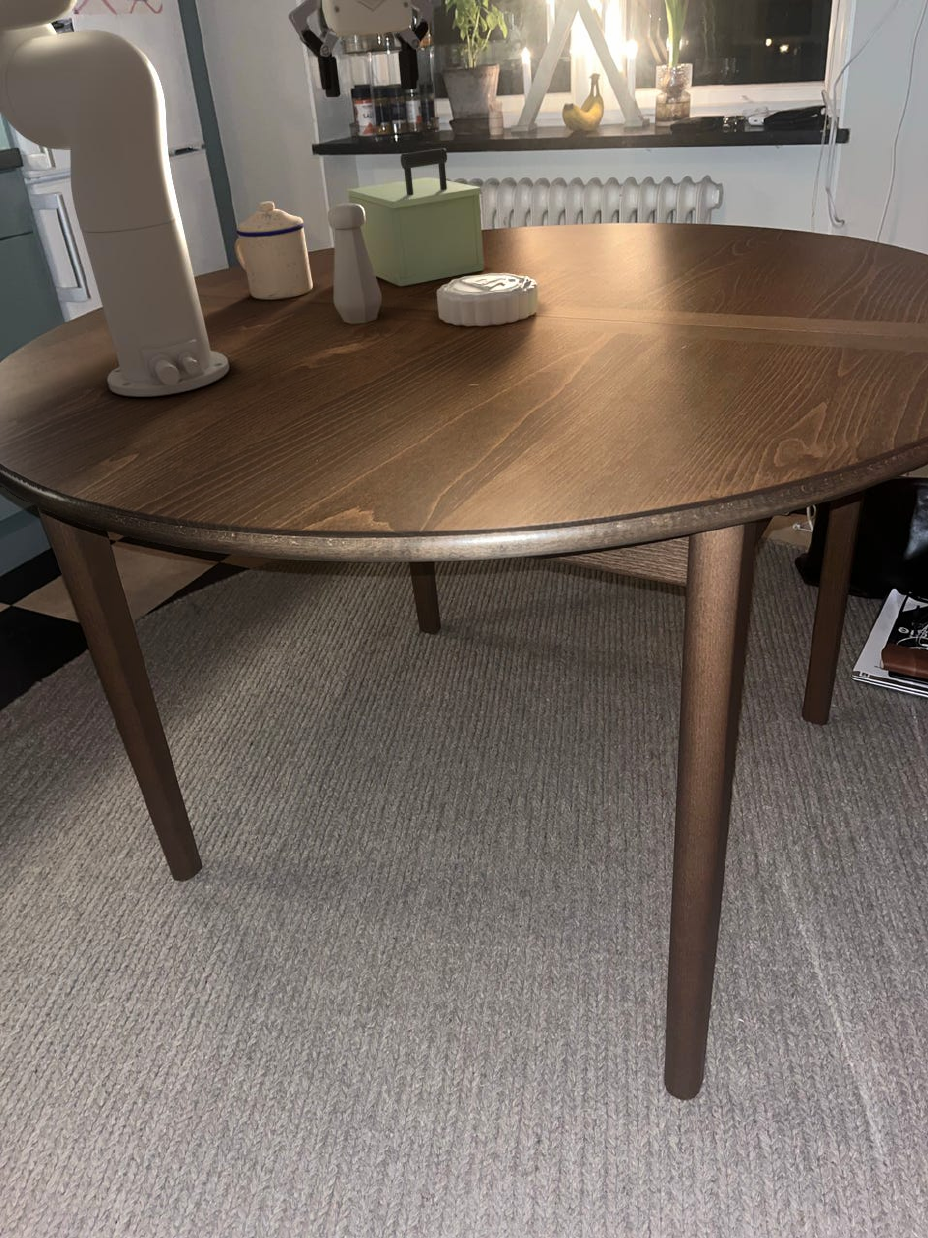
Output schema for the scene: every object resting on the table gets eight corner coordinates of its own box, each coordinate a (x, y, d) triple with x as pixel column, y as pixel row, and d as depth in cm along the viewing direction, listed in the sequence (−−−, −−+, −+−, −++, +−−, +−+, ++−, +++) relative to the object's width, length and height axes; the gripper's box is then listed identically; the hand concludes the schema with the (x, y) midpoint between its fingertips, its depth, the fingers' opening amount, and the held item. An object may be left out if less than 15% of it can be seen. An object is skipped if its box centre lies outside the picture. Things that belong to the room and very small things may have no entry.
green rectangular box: (484, 269, 132) (479, 193, 127) (400, 286, 128) (391, 207, 123) (436, 253, 145) (429, 182, 140) (358, 268, 140) (348, 195, 135)
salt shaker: (329, 325, 114) (311, 210, 107) (347, 312, 118) (331, 201, 111) (374, 325, 112) (358, 208, 105) (390, 312, 117) (377, 199, 110)
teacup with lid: (328, 286, 132) (314, 196, 125) (283, 302, 126) (266, 209, 119) (267, 281, 138) (251, 195, 132) (221, 296, 132) (202, 207, 126)
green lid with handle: (482, 193, 127) (479, 145, 123) (393, 208, 122) (388, 159, 119) (429, 182, 140) (426, 138, 136) (348, 195, 135) (342, 150, 132)
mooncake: (557, 312, 110) (557, 280, 108) (469, 333, 106) (467, 300, 104) (504, 294, 119) (502, 265, 118) (421, 313, 115) (417, 283, 113)
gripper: (286, -92, 95) (312, 100, 104) (439, -96, 102) (451, 86, 111) (265, -82, 101) (291, 99, 110) (411, -86, 107) (424, 86, 116)
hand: (371, 92), depth 110 cm, fingers open, 9 cm apart
